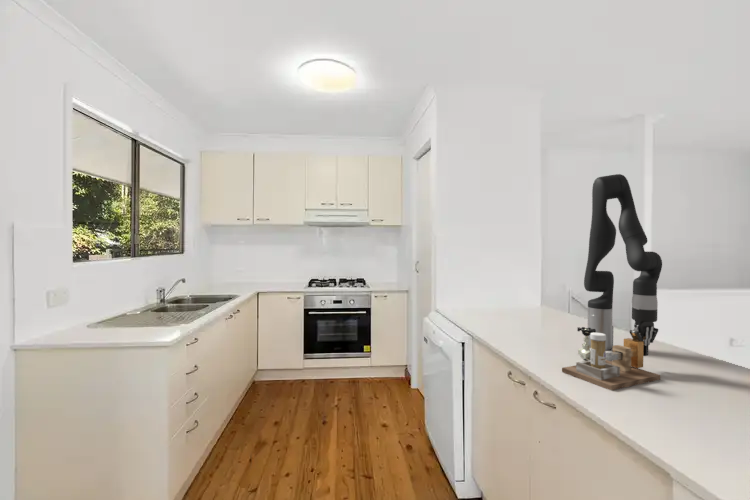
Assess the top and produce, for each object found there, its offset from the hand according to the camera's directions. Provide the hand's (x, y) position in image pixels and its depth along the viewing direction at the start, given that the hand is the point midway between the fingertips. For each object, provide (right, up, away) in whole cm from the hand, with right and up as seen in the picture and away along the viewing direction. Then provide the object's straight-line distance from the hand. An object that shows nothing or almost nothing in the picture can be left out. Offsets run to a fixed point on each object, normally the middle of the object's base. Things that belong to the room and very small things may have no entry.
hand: (643, 355), depth 136 cm
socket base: (-16, -5, -7) cm, 18 cm away
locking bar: (-11, -3, -4) cm, 12 cm away
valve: (-14, -5, +12) cm, 19 cm away
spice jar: (-22, -4, -9) cm, 24 cm away
